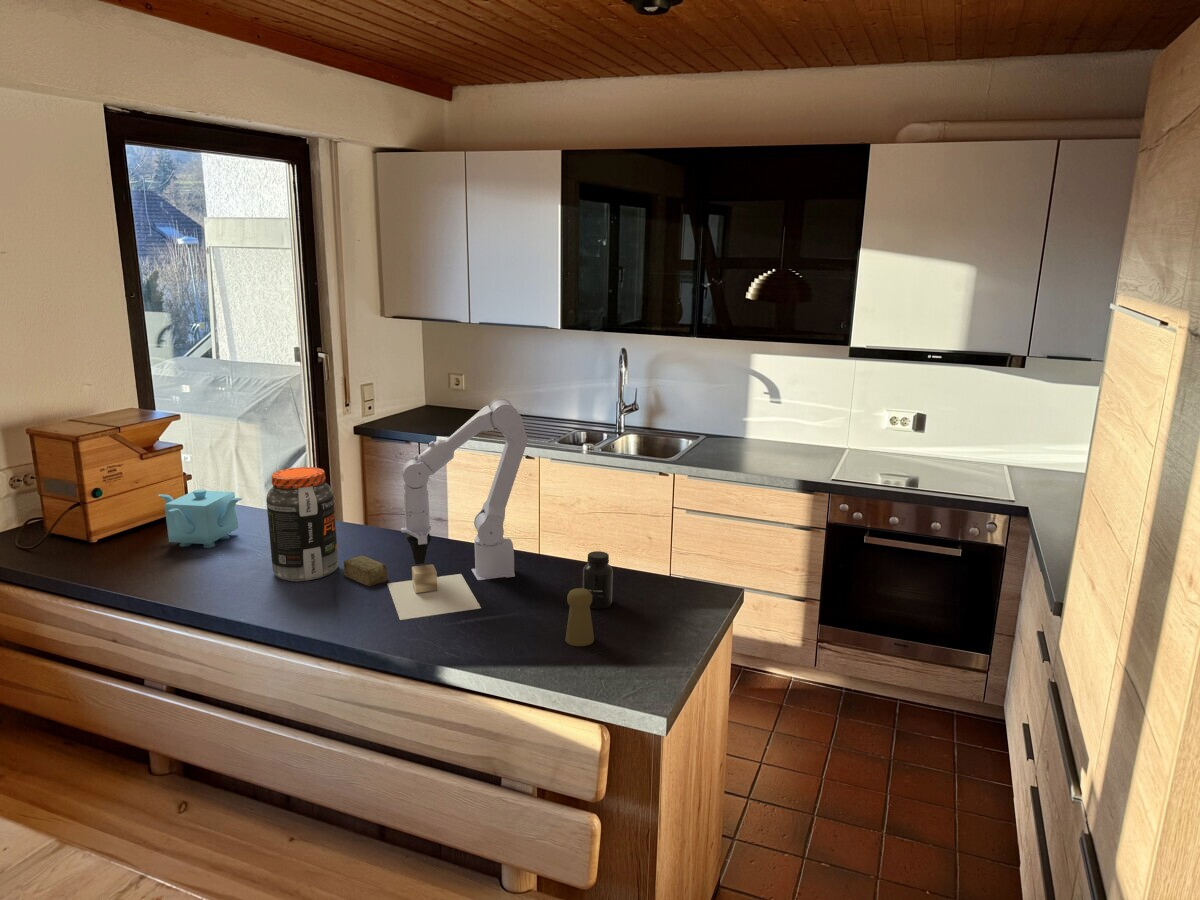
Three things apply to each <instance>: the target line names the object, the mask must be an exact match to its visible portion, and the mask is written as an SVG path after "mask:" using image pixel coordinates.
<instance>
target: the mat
mask: <svg viewBox="0 0 1200 900" xmlns="http://www.w3.org/2000/svg"><path fill="white" fill-rule="evenodd" d="M387 588H388V589H389V593H390V595H391V598H392V599H391V600H392V601H393V605H394V608H395V609H396V613H397V615H398V618H399V620H400V621H403V620H409V619H417V618H418V619H419V618H422V617H431V616H432V617H433V616H437V615H444V614H451V613H452V614H453V613H457V612H465V611H472V610H479V609H482V607H481V605H480V603H479V602H478V600H477V598H476V597H475V595H474V593H473V592H472V590H471V588H470V586H469V585H468V583H467V582H466V579H465V578H464V576H463V575H462V573H458V574H449V575H441V576H437V591H436V592H429V593H421V594H416V593H415V590H414V588H413V580H412V579H411V580H404V581H403V580H402V581H398V582H388V583H387Z"/></svg>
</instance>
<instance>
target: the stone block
mask: <svg viewBox="0 0 1200 900" xmlns="http://www.w3.org/2000/svg"><path fill="white" fill-rule="evenodd" d="M343 575H344V576H345V577H346V578H348V579H351V580H354V581H355V582H358V583H359V584H362V585H365V586H368V587H371V586H374V585H377V584H381V583H385V582H387V581H388V570H387V567H386V565H385V563H382V562H380V561H377V560H375V559H373V558H370V557H368V556H365V555H359V556H355V557H352V558H348V559H345V560H344V562H343Z"/></svg>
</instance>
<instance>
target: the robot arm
mask: <svg viewBox="0 0 1200 900" xmlns="http://www.w3.org/2000/svg"><path fill="white" fill-rule="evenodd" d="M494 427H495V428H496V429H497V430H498V431H500V432H501V434H502V435H503V437H504V439H505V444H504V446H503V450H502V453H501V456H500V460H499V462H498V465H497V467H496V470H495V471H496V472H495V474H494V477H493V480H492V484H491V486H490V489H489V492H488V495H487V498H486V500H485V501H484V502H483V504H482V507H481V509H480V511H479V512H478V513H477V514H476V515H475V517H474V521H473V524H474V528H475V530H476V531H477V535H476V537H475V538H474V563H475V564H474V566H475V567H474V568H471V571H472V573H473V575H474V577H475V578H476V580H477V581H483V580H491V579H498V578H514V577H516V574H515V552H514V551H515V550H514V544H513V540H512V539H511V538H505V537H504V534H505V533H504V523H505V518H506V508H507V505H508V502H509V498H510V495H511V492H512V489H513V486H514V483H515V480H516V477H517V474H518V472H519V468H520V465H521V463H522V459H523V457H524V453H525V450H526V448H527V445H528V435H527V433H526V428H525V425H524V422H523V418H522V416H521V414H520V412H518V411H517V409H516V408H515V407H514V405H513V404H512V403H511V402H510V401H509V400H507V399H506V398H495V399H494V400H492V401H491V402H490V403H489V404H488V405H485V406H484V407H482V408H481V409H480V410H479V411H477V412H476V413H475V414H474V415H473V416H472V417H470V418H469V419H468V420H467V421H466V422H465V423H464V424H463V425H462V426H460V427H459V428H458V429H456V430H455V431H454V433H452V434H451V435H450V436H449V437H448V438H447V439H437V440H436V441H434V440H432V441H430V442H429V443H428V447H427V448H426V449H424V450H423V451H422V452H421V453H420V454H418V455H417V454H415V455H414V456H413V457H412V458H413V459H411V460H408V461H407V462H406V463H405V464H404V465H403V467H402V470H401V474H402V478H403V481H404V484H403V489H404V492H403V501H404V517H405V518H404V519H405V522H404V523H405V527H401V528H400V532H401V533H406V535H405V538H406V540H407V542H408V544H409V545H410V549H411V553H412V554H411V555H412V557H413V561H414V564H415V565H422V564H423V565H425V561H426V556H427V549H428V547H429V545H430V543H431V540H432V537H431V534H430V532H431V530H432V528H431V527H432V526H431V522H430V520H431V519H430V502H429V491H428V482H429V479H430V478H429V477H430V476H432V475H434V474H435V473H437V472H438V471H439V470H441V469H442V468H444V466H445V465H447V464H448V463H449V462H451V461H452V460H453V459H454V456H455V451H456V450H457V449H458V448H461V446H463V445H464V444H466V443H467V442H468V441H470V440H471V439H472V438H474V437H475V436H476V435H478V434H479V433H482V432H490V431H491V432H493V431H494ZM494 432H495V431H494Z"/></svg>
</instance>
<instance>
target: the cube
mask: <svg viewBox="0 0 1200 900" xmlns="http://www.w3.org/2000/svg"><path fill="white" fill-rule="evenodd" d="M411 573H412V574H411V577H412V578H411V580H413V588H414V590H415V593H416V594H421V593H429V592H436V591H437V577H438V574H437V573H438V572H437V570H436V568H435V565H434V564H423V565H422V564H421V565H415V566H411Z"/></svg>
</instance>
